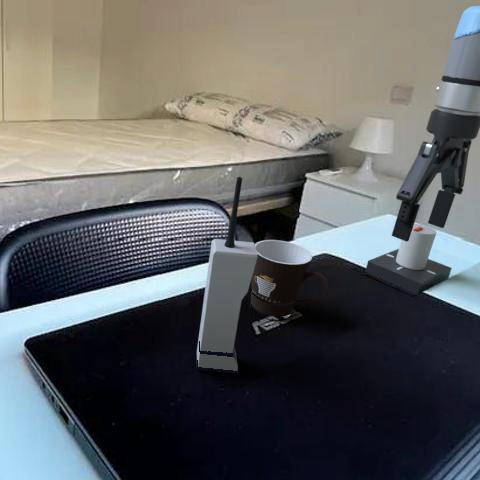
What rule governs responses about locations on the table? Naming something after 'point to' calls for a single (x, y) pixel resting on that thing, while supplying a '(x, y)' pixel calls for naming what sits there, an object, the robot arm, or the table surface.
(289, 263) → the coffee mug
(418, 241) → the timer knob
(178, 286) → the table surface
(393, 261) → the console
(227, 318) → the vintage mobile phone
